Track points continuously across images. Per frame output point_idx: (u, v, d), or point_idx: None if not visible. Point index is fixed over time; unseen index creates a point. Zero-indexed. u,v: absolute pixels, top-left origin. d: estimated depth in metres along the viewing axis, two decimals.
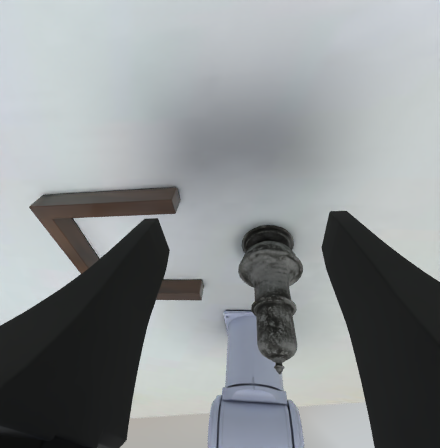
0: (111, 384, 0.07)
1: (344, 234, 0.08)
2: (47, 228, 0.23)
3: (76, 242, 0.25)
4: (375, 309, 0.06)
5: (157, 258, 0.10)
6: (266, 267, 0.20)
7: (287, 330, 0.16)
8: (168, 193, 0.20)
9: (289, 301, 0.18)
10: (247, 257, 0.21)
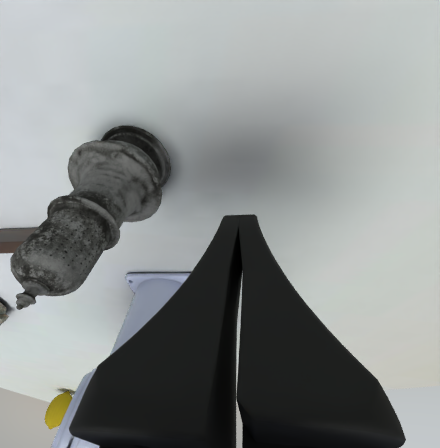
0: (231, 392, 0.06)
1: (239, 237, 0.08)
2: None
3: None
4: None
5: (240, 257, 0.09)
6: (91, 169, 0.13)
7: (58, 238, 0.09)
8: None
9: (93, 205, 0.11)
10: (70, 159, 0.14)
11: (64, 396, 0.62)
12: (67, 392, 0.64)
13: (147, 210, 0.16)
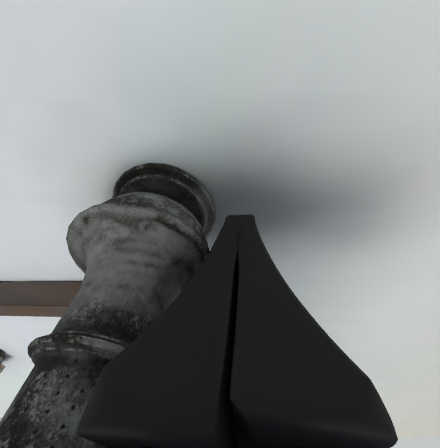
0: None
1: (236, 237, 0.08)
2: None
3: None
4: None
5: None
6: (106, 250, 0.08)
7: None
8: None
9: (114, 351, 0.06)
10: (70, 227, 0.09)
11: None
12: None
13: None
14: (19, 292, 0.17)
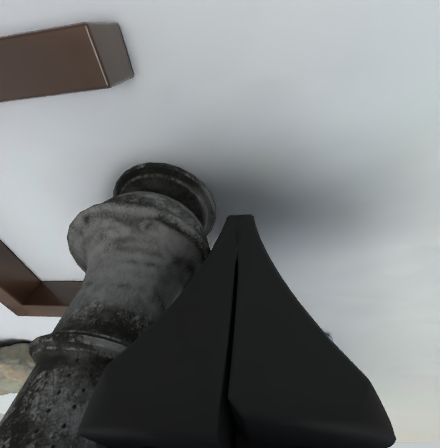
0: None
1: (236, 237, 0.08)
2: None
3: None
4: None
5: None
6: (106, 249, 0.08)
7: None
8: None
9: (115, 351, 0.06)
10: (71, 226, 0.08)
11: None
12: None
13: None
14: None
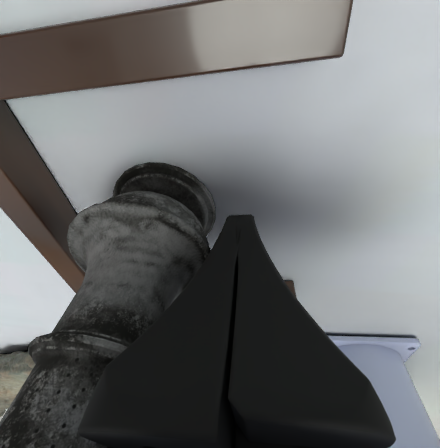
0: None
1: (235, 237, 0.08)
2: None
3: (36, 192, 0.11)
4: None
5: None
6: (106, 249, 0.08)
7: None
8: None
9: (115, 350, 0.06)
10: (71, 226, 0.08)
11: None
12: None
13: None
14: None
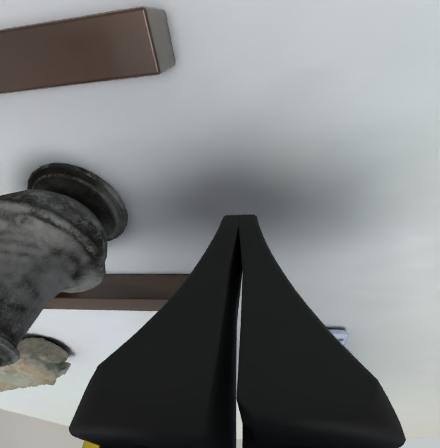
0: (231, 392, 0.06)
1: (239, 237, 0.08)
2: None
3: None
4: None
5: (240, 257, 0.09)
6: None
7: None
8: None
9: None
10: None
11: None
12: None
13: (87, 282, 0.11)
14: (136, 285, 0.16)
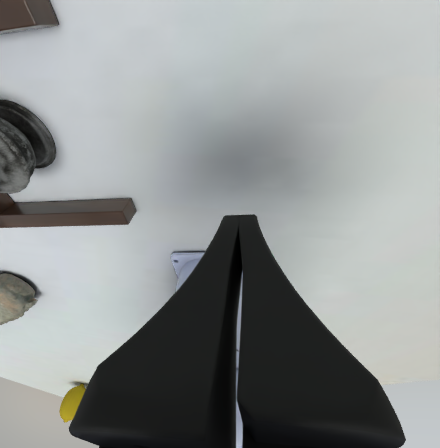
0: (231, 392, 0.06)
1: (239, 237, 0.08)
2: None
3: None
4: None
5: (240, 257, 0.09)
6: None
7: None
8: None
9: None
10: None
11: (79, 389, 0.60)
12: (81, 385, 0.62)
13: (17, 180, 0.16)
14: (70, 206, 0.21)
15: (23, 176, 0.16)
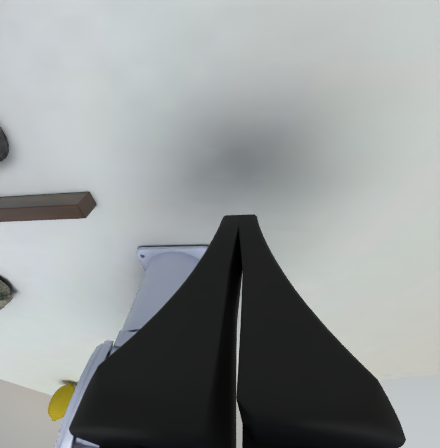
0: (231, 392, 0.06)
1: (239, 237, 0.08)
2: None
3: None
4: None
5: (240, 257, 0.09)
6: None
7: None
8: None
9: None
10: None
11: (68, 387, 0.61)
12: (70, 384, 0.62)
13: None
14: (28, 200, 0.21)
15: None
